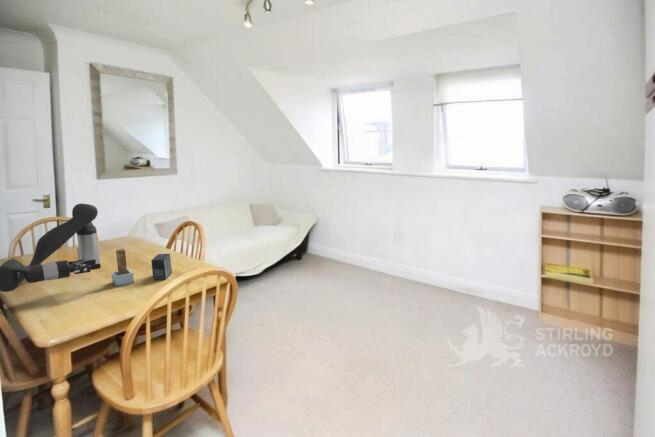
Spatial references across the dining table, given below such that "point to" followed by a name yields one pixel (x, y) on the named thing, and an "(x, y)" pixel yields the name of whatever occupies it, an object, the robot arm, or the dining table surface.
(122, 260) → the tall wooden pillar
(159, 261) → the small box
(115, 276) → the pale blue storage bin
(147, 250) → the dining table surface
